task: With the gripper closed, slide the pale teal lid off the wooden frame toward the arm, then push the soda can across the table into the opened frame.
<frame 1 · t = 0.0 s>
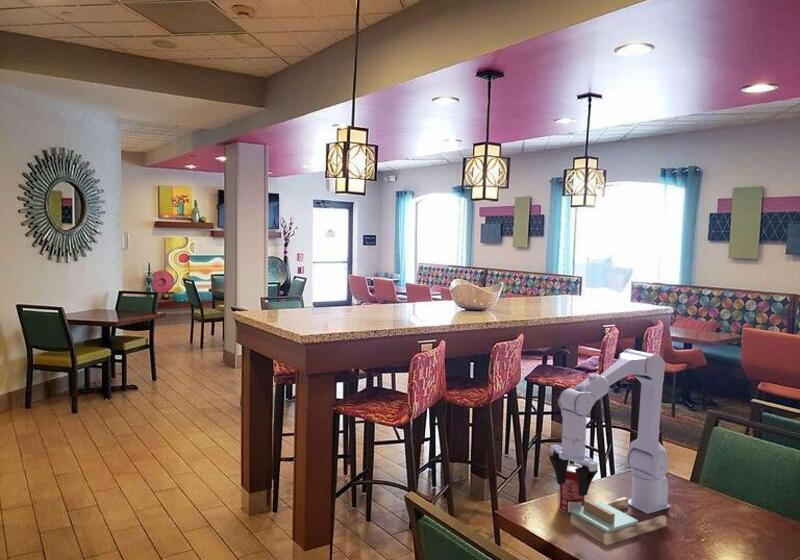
hand: (571, 489, 147), 10 cm above the table, tool pointing down, fingers open, 7 cm apart
lid: (604, 511, 147), point 4 cm above the table, slide at 0.0 cm
soda can: (570, 511, 157), on the table
wooden frame: (603, 528, 148), on the table
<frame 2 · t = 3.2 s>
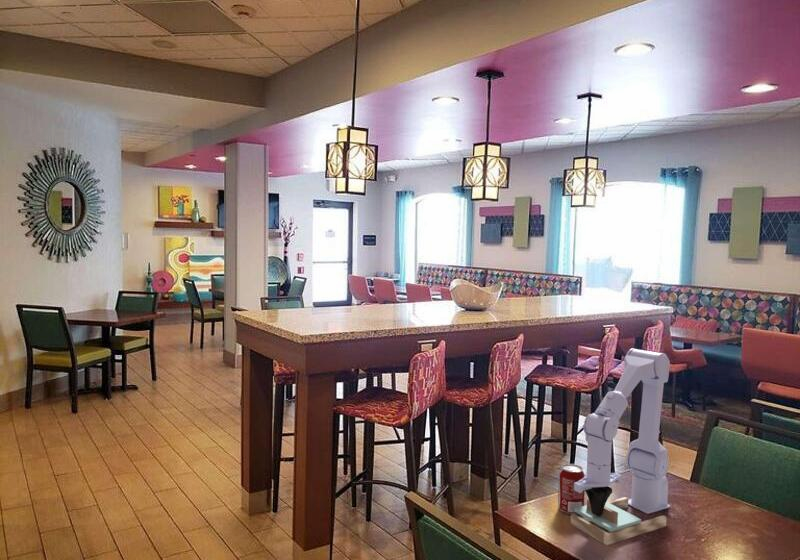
hand: (596, 514, 146), 4 cm above the table, tool pointing down, fingers closed
lid: (607, 510, 148), point 4 cm above the table, slide at 1.2 cm, touching gripper
everything else where it was.
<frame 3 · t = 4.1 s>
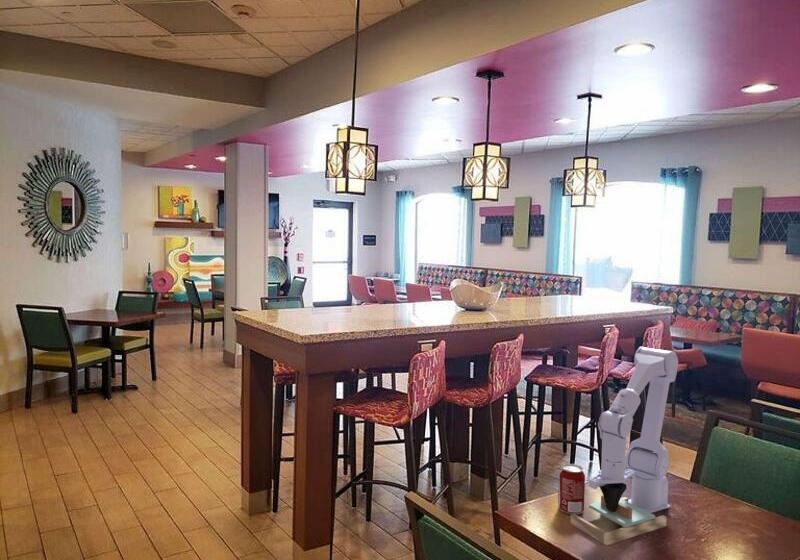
hand: (611, 510, 149), 4 cm above the table, tool pointing down, fingers closed
lid: (621, 506, 150), point 4 cm above the table, slide at 6.3 cm, touching gripper
everything else where it was.
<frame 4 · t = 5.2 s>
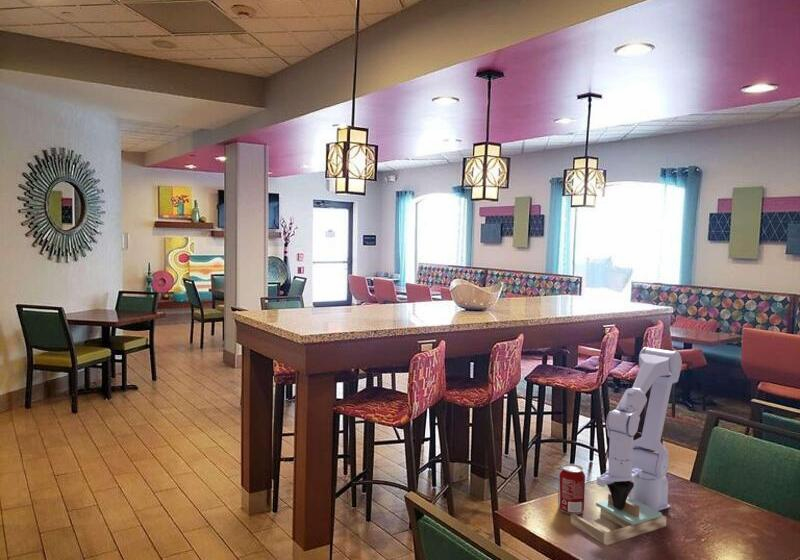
hand: (618, 508, 150), 4 cm above the table, tool pointing down, fingers closed
lid: (628, 504, 152), point 4 cm above the table, slide at 9.0 cm, touching gripper
everything else where it was.
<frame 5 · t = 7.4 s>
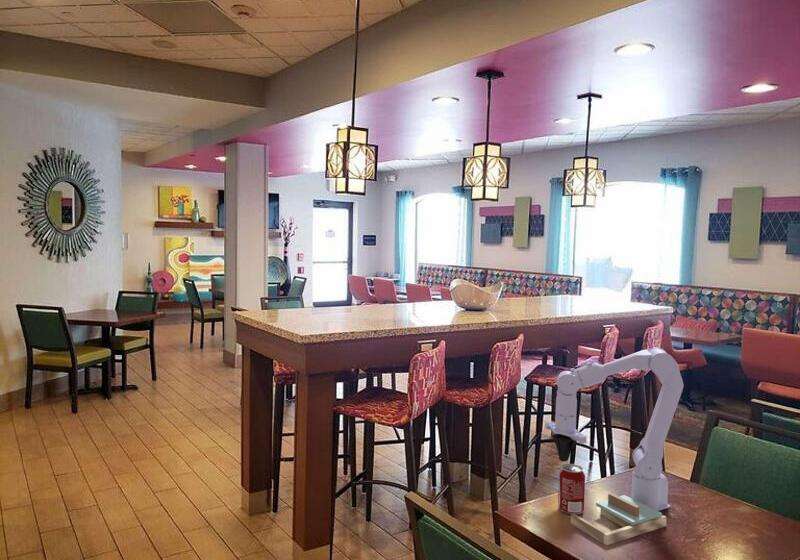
hand: (563, 460, 165), 11 cm above the table, tool pointing down, fingers closed
lid: (628, 504, 152), point 4 cm above the table, slide at 9.0 cm
everything else where it was.
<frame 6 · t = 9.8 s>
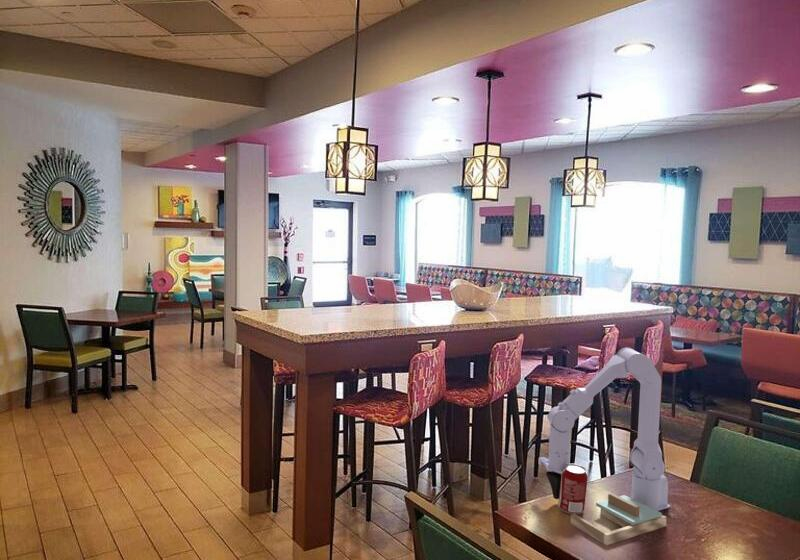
hand: (557, 497, 161), 1 cm above the table, tool pointing down, fingers closed
soda can: (570, 510, 157), on the table, touching gripper
everything else where it was.
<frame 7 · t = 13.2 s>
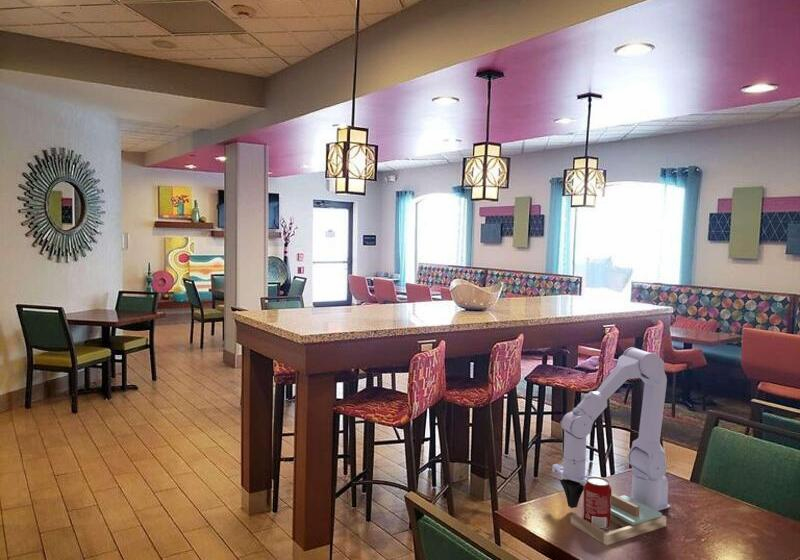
hand: (572, 506, 156), 1 cm above the table, tool pointing down, fingers closed
soda can: (595, 526, 149), on the table
everything else where it was.
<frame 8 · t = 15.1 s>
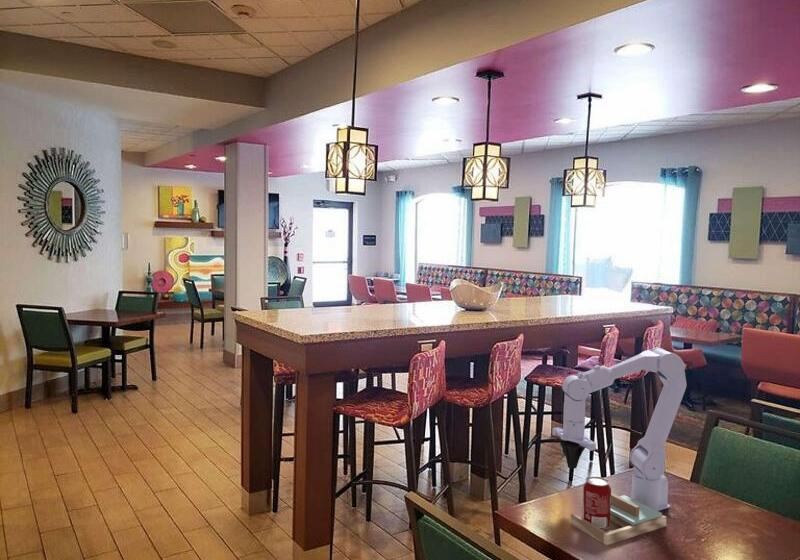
hand: (572, 467, 160), 10 cm above the table, tool pointing down, fingers closed
nothing on the table moved.
at the end: lid slide at 9.0 cm; soda can inside the target area (2.2 cm from its centre), on the table; soda can tilted 1° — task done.
